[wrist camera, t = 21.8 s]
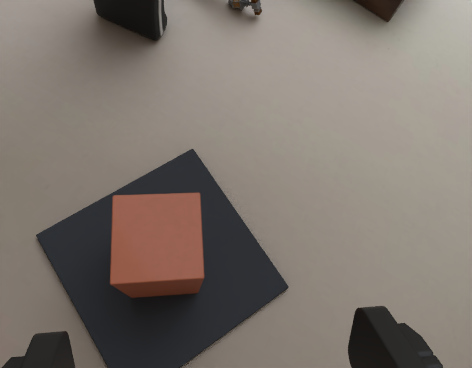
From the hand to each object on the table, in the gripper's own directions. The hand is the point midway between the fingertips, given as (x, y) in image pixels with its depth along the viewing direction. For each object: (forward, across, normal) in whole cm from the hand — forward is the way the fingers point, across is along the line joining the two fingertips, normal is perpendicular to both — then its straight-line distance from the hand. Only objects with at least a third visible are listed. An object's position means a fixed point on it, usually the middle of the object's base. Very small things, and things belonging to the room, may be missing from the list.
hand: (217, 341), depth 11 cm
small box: (+17, +2, +10) cm, 20 cm away
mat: (+18, +2, +10) cm, 21 cm away
